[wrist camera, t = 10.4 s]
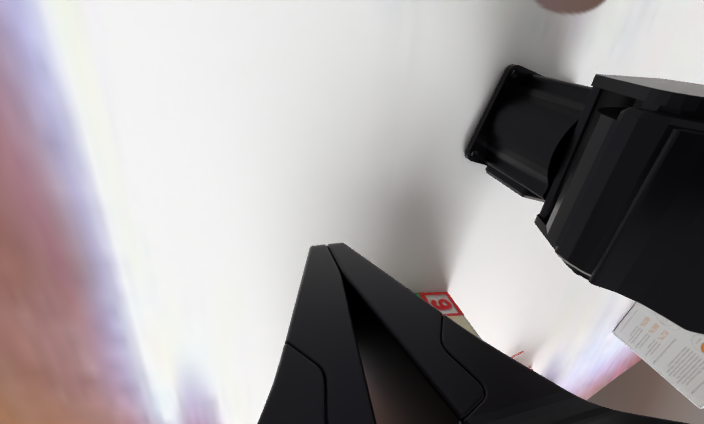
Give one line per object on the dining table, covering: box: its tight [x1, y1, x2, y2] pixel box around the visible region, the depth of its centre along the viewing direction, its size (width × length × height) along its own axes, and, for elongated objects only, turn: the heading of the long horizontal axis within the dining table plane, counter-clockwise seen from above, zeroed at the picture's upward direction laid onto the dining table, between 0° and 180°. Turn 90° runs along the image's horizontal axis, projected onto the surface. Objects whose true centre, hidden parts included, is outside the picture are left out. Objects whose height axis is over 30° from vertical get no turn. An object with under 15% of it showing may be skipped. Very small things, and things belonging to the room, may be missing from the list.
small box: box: [613, 302, 704, 409], centre depth 39 cm, size 8×6×10 cm
